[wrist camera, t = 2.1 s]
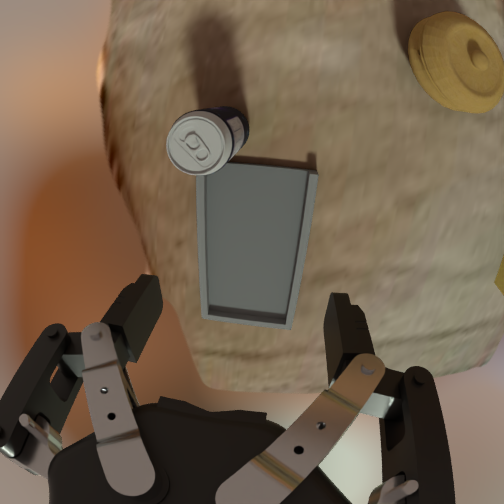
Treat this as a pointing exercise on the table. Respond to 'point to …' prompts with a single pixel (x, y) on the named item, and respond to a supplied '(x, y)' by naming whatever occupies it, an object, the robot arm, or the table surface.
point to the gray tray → (253, 241)
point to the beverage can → (206, 139)
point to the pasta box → (500, 277)
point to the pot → (457, 62)
